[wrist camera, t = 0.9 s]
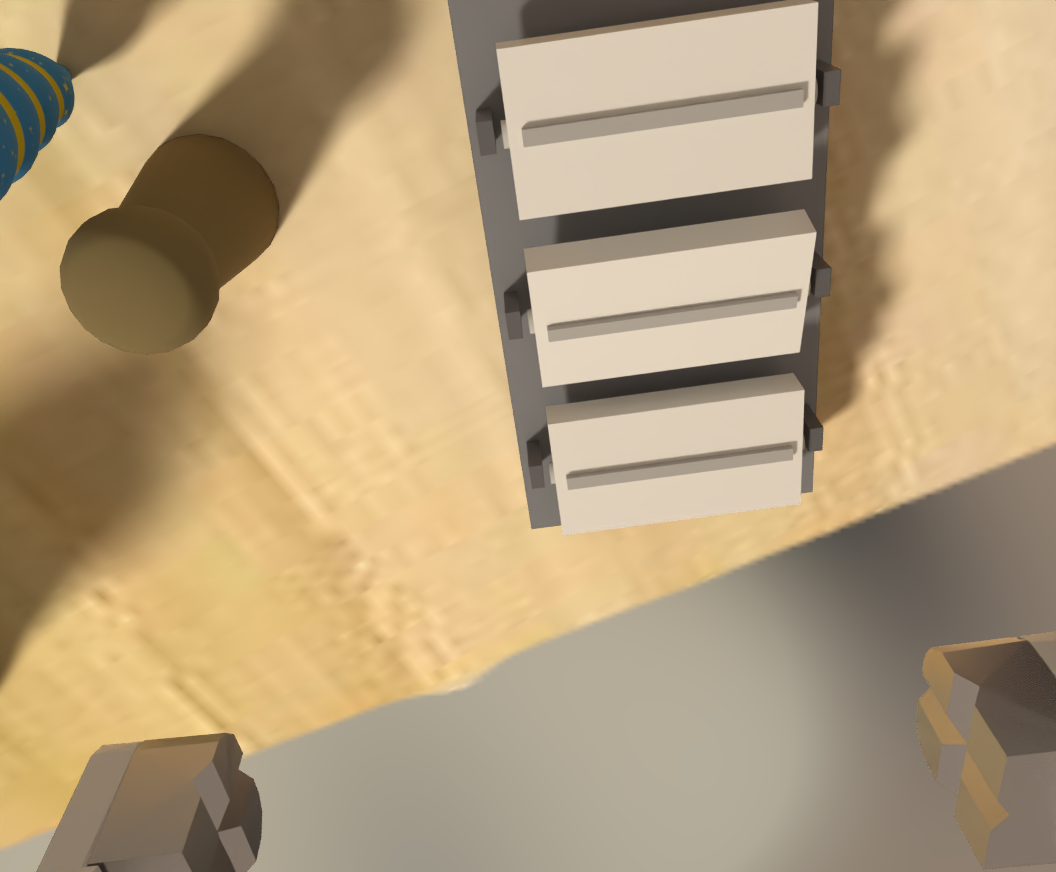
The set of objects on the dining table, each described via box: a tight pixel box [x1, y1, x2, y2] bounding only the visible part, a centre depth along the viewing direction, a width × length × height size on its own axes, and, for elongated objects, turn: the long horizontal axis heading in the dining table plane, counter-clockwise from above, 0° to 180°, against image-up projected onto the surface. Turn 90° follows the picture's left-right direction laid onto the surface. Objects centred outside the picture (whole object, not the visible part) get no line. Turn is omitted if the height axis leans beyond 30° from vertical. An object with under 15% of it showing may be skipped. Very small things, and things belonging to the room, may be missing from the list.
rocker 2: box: [524, 209, 817, 387], centre depth 36 cm, size 6×11×2 cm, turn 97°
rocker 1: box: [496, 0, 818, 220], centre depth 33 cm, size 6×11×2 cm, turn 97°
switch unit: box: [448, 0, 841, 529], centre depth 39 cm, size 24×14×6 cm, turn 7°
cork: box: [60, 134, 279, 354], centre depth 35 cm, size 6×6×11 cm
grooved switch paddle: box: [545, 373, 805, 536], centre depth 40 cm, size 6×11×2 cm, turn 97°
